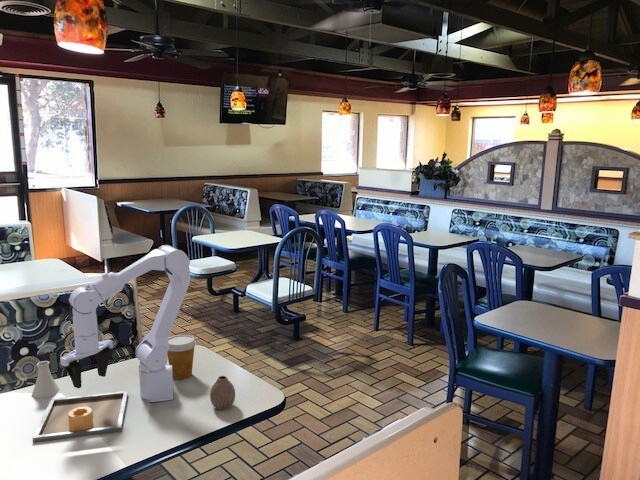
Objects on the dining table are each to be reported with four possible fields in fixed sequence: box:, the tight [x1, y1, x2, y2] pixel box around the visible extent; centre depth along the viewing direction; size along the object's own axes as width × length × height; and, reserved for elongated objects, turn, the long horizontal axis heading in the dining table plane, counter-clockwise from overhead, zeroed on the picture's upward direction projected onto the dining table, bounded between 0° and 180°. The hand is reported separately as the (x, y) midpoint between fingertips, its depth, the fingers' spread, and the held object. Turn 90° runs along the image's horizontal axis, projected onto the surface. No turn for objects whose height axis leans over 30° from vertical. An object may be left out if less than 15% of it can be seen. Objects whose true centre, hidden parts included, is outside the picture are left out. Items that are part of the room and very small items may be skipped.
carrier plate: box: [33, 397, 126, 444], centre depth 137 cm, size 20×20×1 cm
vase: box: [209, 375, 236, 411], centre depth 144 cm, size 7×7×9 cm
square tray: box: [32, 390, 129, 444], centre depth 137 cm, size 20×20×1 cm
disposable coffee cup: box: [167, 334, 197, 381], centre depth 162 cm, size 10×10×12 cm
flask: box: [31, 360, 61, 399], centre depth 149 cm, size 7×7×10 cm
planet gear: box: [68, 406, 93, 431], centre depth 132 cm, size 5×5×4 cm
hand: (90, 381), depth 138 cm, fingers open, 7 cm apart
